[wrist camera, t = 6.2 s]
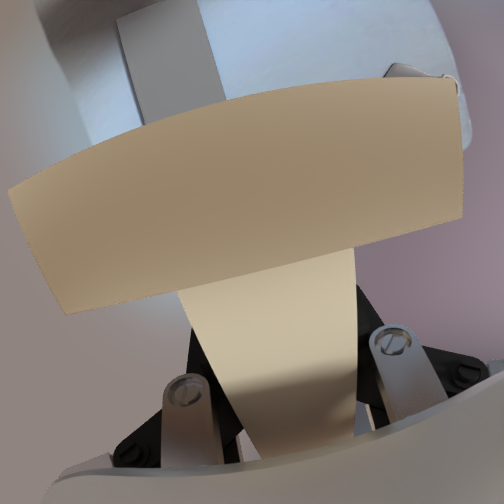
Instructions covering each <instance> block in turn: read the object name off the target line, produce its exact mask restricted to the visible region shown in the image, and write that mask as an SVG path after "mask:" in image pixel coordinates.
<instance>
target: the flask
mask: <svg viewBox="0 0 504 504" xmlns="http://www.w3.org/2000/svg"><path fill="white" fill-rule="evenodd" d="M389 77H434V76H432V75H429V74H427V73H425V72H423V71H421V70H419V69H417V68H415V67H413V66H410V65H404V64H399V63H394V64H393V65H392V67H391V68H390V70H389V71H388V73H387V74H386V76H385V78H389ZM435 78H454V77H453V76H450V75H446V74H443V75H442V76H441V77H435ZM454 80H455V78H454ZM455 86H456V92H457V98H458V97H459V95H460V90H459V83H458V82H457V81H456V80H455Z"/></svg>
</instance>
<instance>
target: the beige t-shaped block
mask: <svg viewBox="0 0 504 504" xmlns="http://www.w3.org/2000/svg"><path fill="white" fill-rule="evenodd" d="M7 192H8V195H9V198H10V201H11V203H12V206H13V209H14V211H15V214H16V217H17V219H18V221H19V224H20V227H21V229H22V231H23V233H24V236H25V238H26V241H27V243H28V245H29V247H30V249H31V252H32V254H33V256H34V258H35V260H36V262H37V264H38V266H39V268H40V270H41V272H42V274H43V276H44V278H45V280H46V282H47V284H48V285H49V287H50V289H51V291H52V293H53V294H54V296H55V298H56V300H57V301H58V303H59V305H60V306H61V308H62V310H63V312H64V313H65V315H69V314H73V313H78V312H83V311H88V310H92V309H97V308H101V307H106V306H111V305H115V304H120V303H125V302H129V301H133V300H138V299H142V298H147V297H151V296H156V295H161V294H165V293H169V292H173V291H176V292H177V294H178V296H179V299H180V301H181V303H182V305H183V307H184V310H185V312H186V314H187V317H188V319H189V321H190V323H191V325H192V328H193V330H194V332H195V334H196V336H197V338H198V340H199V343H200V345H201V347H202V349H203V351H204V353H205V355H206V357H207V359H208V361H209V363H210V365H211V367H212V369H213V371H214V373H215V375H216V377H217V379H218V381H219V383H220V385H221V387H222V389H223V391H224V393H225V394H226V396H227V398H228V400H229V402H230V404H231V406H232V407H233V409H234V411H235V413H236V415H237V417H238V418H239V420H240V422H241V424H242V426H243V427H244V429H245V431H246V433H247V434H248V436H249V438H250V439H251V441H252V443H253V445H254V446H255V448H256V450H257V451H258V453H259V455H260V456H261V458H262V459H266V458H272V457H278V456H283V455H288V454H292V453H297V452H302V451H306V450H310V449H314V448H318V447H322V446H326V445H329V444H333V443H336V442H340V441H343V440H347V439H350V438H353V437H354V424H355V410H356V409H355V408H356V391H357V297H356V277H355V261H354V248H353V247H357V246H361V245H364V244H368V243H372V242H375V241H379V240H383V239H387V238H390V237H394V236H397V235H402V234H405V233H409V232H413V231H416V230H420V229H424V228H427V227H430V226H434V225H438V224H441V223H445V222H448V221H452V220H455V219H459V218H462V213H463V151H462V135H461V124H460V114H459V106H458V99H457V92H456V86H455V80H454V78H435V77H389V78H368V79H354V80H343V81H333V82H325V83H317V84H309V85H302V86H296V87H290V88H284V89H278V90H273V91H267V92H262V93H258V94H253V95H248V96H244V97H239V98H235V99H231V100H227V101H223V102H219V103H215V104H211V105H207V106H204V107H200V108H197V109H193V110H190V111H187V112H183V113H180V114H177V115H174V116H170V117H167V118H164V119H161V120H158V121H156V122H153V123H150V124H147V125H144V126H141V127H139V128H136V129H133V130H131V131H128V132H125V133H123V134H120V135H118V136H115V137H113V138H111V139H108V140H106V141H103V142H101V143H99V144H96V145H94V146H92V147H90V148H87V149H85V150H83V151H81V152H79V153H77V154H74V155H72V156H70V157H68V158H66V159H64V160H62V161H60V162H58V163H56V164H54V165H52V166H50V167H48V168H47V169H45V170H43V171H41V172H39V173H37V174H35V175H34V176H32V177H30V178H28V179H27V180H25V181H23V182H21V183H19V184H18V185H16V186H14V187H13V188H11V189H9V190H8V191H7Z"/></svg>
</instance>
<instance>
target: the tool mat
mask: <svg viewBox="0 0 504 504" xmlns="http://www.w3.org/2000/svg"><path fill="white" fill-rule="evenodd" d="M116 22H117V26H118V30H119V34H120V38H121V42H122V46H123V49H124V53H125V57H126V60H127V64H128V67H129V71H130V74H131V78H132V81H133V85H134V88H135V92H136V95H137V98H138V102H139V105H140V108H141V111H142V114H143V118H144V121H145V124H146V125H147V124H150V123H153V122H156V121H158V120H161V119H164V118H167V117H170V116H174V115H177V114H180V113H183V112H187V111H190V110H193V109H197V108H200V107H204V106H207V105H211V104H215V103H219V102H223V101H226V97H225V94H224V90H223V87H222V84H221V80H220V77H219V73H218V70H217V67H216V63H215V60H214V57H213V53H212V50H211V47H210V44H209V40H208V37H207V34H206V30H205V27H204V24H203V21H202V17H201V14H200V11H199V8H198V5H197V1H196V0H163V1H160V2H157V3H154V4H152V5H149V6H146V7H144V8H141V9H139V10H136V11H134V12H132V13H129V14H127V15H125V16H122V17H120V18H118V19H116Z"/></svg>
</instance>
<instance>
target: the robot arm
mask: <svg viewBox="0 0 504 504" xmlns="http://www.w3.org/2000/svg"><path fill="white" fill-rule="evenodd" d="M356 297H357V391H356V399H357V401H360V402H363V403H366V409H367V413H368V417H369V420H370V424H371V428H372V432H368V433H365V434H362V435H359V436H356V437H353V438H350V439H347V440H343V441H340V442H336V443H333V444H329V445H326V446H322V447H318V448H314V449H310V450H306V451H302V452H297V453H292V454H288V455H283V456H278V457H272V458H266V459H260V460H254V461H248V462H244V460H243V455H242V450H241V445H240V439H239V436H238V434H239V433H240V432H241V431H242V430H243V429H244V427H243V426H242V424H241V422H240V420H239V418H238V417H237V415H236V413H235V411H234V409H233V407H232V406H231V404H230V402H229V400H228V398H227V396H226V394H225V393H224V391H223V389H222V387H221V385H220V383H219V381H218V379H217V377H216V375H215V373H214V371H213V369H212V367H211V365H210V363H209V361H208V359H207V357H206V355H205V353H204V351H203V349H202V347H201V345H200V343H199V340H198V338H197V336H196V334H195V332H194V330H193V328H192V329H191V338H190V345H189V353H188V362H187V370H186V374H184V375H181V376H178V377H176V378H175V379H173V380H172V381H171V382H170V383H169V384H168V385H167V386H166V388H165V390H164V393H163V402H162V404H163V405H162V409H161V410H160V411H159V412H157V413H156V414H155V415H154V416H152V417H151V418H150V419H149V420H148V421H147V422H145V423H144V424H143V425H142V426H140V427H139V428H138V429H137V430H136V431H134V432H133V433H132V434H130V435H129V436H128V437H127V438H125V439H124V440H123V441H122V442H121V443H120V444H119V445H118V446H117V447H116V449H115V451H114V454H110V453H108V452H107V453H105V454H103V455H100V456H98V457H95V458H93V459H90V460H88V461H85V462H83V463H80V464H77V465H75V466H72V467H69V468H67V469H65V470H64V471H63V472H62V473H61V474H60V476H59V478H58V479H57V480H55V481H54V482H53V483H52V484H51V485H50V486H49V487H48V489H47V490H46V492H45V494H44V497H43V499H42V502H41V504H504V359H499V360H489V361H488V363H487V364H484V363H483V362H482V361H480V360H479V359H477V358H474V357H471V356H466V355H462V354H457V353H453V352H448V351H444V350H439V349H435V348H430V347H426V346H422V345H421V344H420V342H419V340H418V339H417V337H416V335H415V334H414V333H413V331H412V330H411V329H409V328H407V327H406V326H403V325H399V324H389V325H384V323H383V322H382V321H381V319H380V317H379V316H378V314H377V313H376V311H375V310H374V308H373V307H372V305H371V304H370V302H369V301H368V299H367V298H366V296H365V295H364V293H363V292H362V290H361V289H360V287H359V286H358V285H357V284H356Z"/></svg>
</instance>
